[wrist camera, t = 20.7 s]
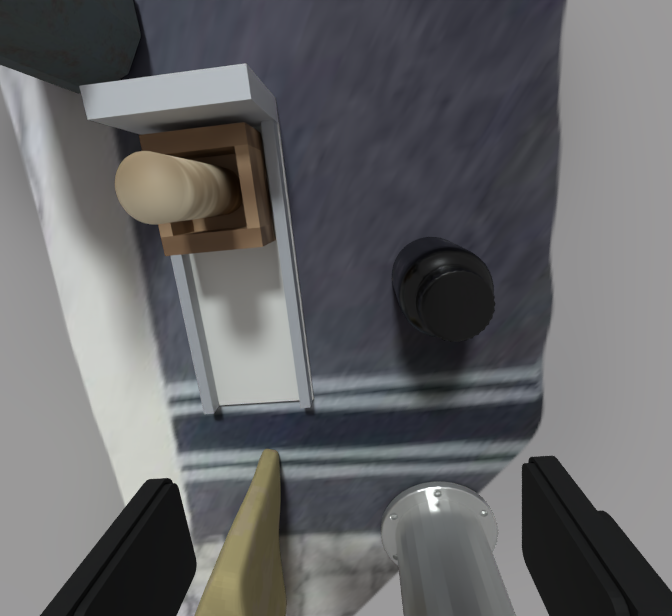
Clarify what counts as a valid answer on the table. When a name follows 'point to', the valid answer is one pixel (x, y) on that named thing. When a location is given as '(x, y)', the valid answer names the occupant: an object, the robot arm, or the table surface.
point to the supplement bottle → (443, 289)
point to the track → (230, 265)
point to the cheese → (251, 553)
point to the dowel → (175, 188)
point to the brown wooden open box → (249, 165)
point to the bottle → (69, 40)
